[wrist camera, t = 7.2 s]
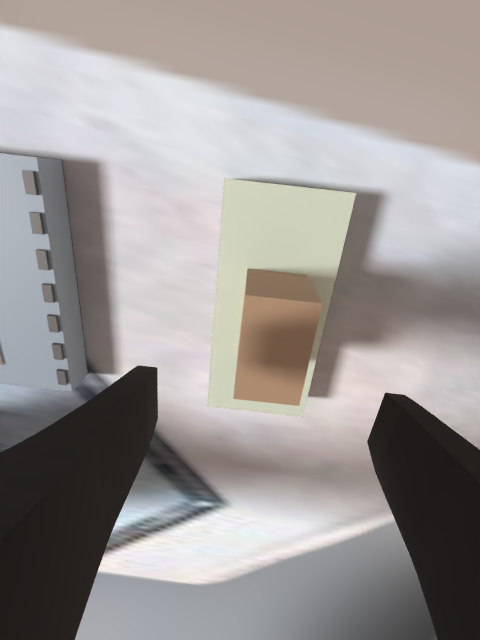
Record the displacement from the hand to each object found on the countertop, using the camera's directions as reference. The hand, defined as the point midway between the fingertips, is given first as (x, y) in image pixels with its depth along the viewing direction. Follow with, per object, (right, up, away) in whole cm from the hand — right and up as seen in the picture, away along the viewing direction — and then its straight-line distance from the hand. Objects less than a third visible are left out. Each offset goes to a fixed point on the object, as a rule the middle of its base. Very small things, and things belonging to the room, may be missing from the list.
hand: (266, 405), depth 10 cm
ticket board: (-16, +6, +8) cm, 19 cm away
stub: (+1, +4, +9) cm, 9 cm away
